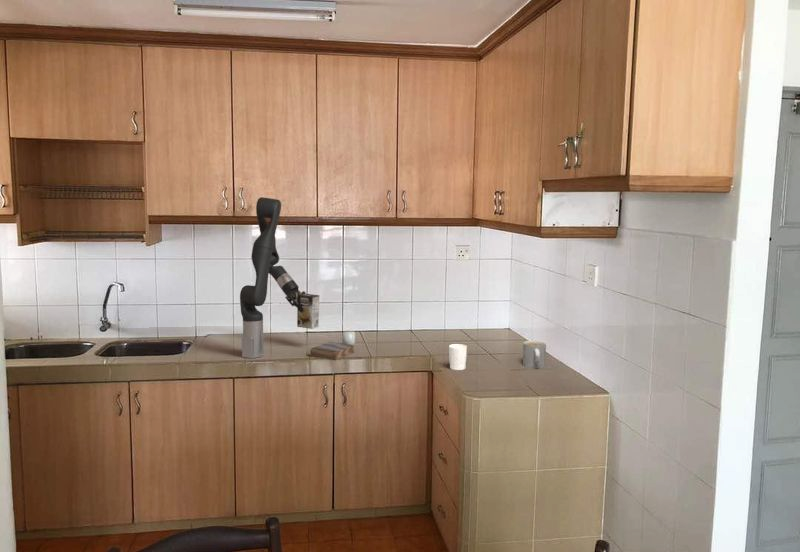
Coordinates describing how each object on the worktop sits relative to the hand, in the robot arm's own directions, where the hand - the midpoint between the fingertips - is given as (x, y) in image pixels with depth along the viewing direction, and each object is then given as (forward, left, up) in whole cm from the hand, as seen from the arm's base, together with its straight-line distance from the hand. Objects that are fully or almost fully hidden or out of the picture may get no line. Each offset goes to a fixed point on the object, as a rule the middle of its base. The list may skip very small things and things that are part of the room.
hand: (306, 310), depth 318 cm
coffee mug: (+22, -108, -19) cm, 112 cm away
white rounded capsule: (+10, -18, -19) cm, 28 cm away
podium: (-5, -18, -19) cm, 27 cm away
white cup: (+2, -80, -19) cm, 82 cm away
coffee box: (0, -1, -9) cm, 9 cm away
